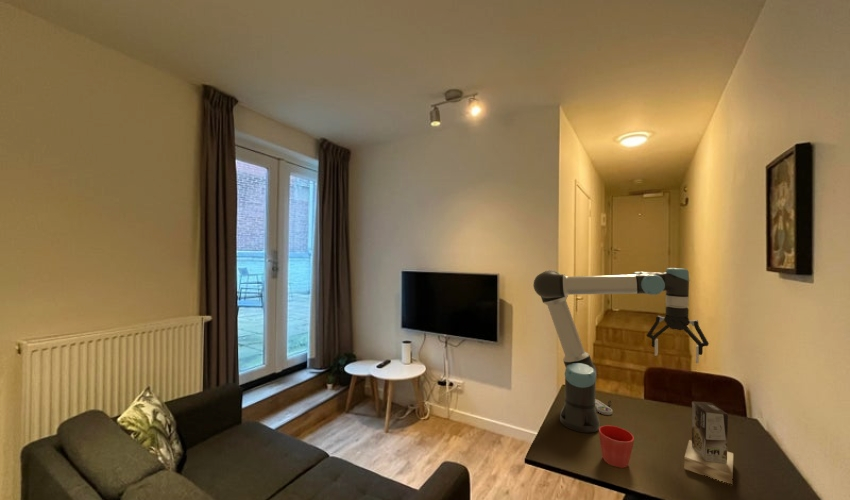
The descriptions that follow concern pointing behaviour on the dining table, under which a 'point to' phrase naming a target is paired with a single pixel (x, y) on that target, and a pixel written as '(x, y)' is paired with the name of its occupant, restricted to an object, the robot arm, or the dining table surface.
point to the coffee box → (709, 431)
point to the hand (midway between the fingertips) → (676, 358)
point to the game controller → (603, 408)
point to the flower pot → (616, 445)
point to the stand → (708, 465)
